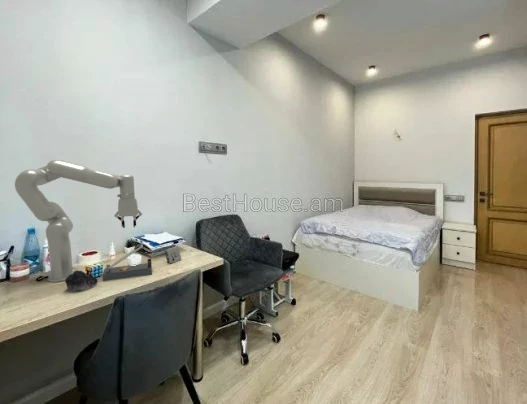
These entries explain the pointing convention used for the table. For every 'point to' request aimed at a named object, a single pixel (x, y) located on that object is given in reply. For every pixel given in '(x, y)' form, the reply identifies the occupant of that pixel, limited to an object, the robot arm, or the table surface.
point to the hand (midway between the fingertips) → (129, 227)
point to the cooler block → (127, 271)
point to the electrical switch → (173, 255)
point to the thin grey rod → (126, 255)
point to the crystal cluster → (80, 281)
